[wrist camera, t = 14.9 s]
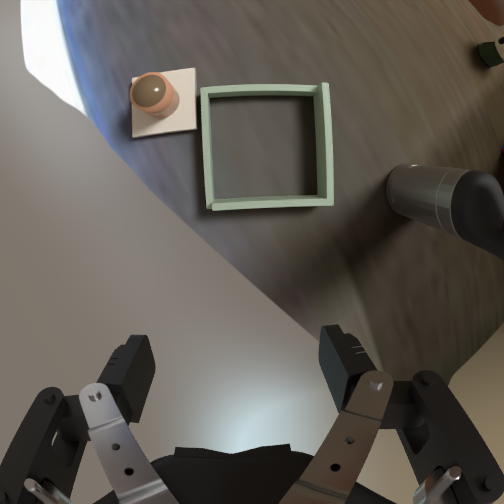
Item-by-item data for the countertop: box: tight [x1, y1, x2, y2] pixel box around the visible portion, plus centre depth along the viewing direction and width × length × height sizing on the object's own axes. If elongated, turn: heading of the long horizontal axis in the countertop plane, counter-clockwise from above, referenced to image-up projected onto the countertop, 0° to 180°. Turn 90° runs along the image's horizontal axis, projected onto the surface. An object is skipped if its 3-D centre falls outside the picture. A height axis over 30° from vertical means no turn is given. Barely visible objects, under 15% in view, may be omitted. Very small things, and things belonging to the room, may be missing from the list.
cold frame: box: [201, 83, 334, 211], centre depth 38 cm, size 18×18×5 cm
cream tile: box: [132, 68, 198, 138], centre depth 37 cm, size 10×10×2 cm
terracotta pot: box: [130, 72, 180, 119], centre depth 33 cm, size 5×5×7 cm
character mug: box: [478, 34, 504, 67], centre depth 28 cm, size 11×7×13 cm, turn 137°
